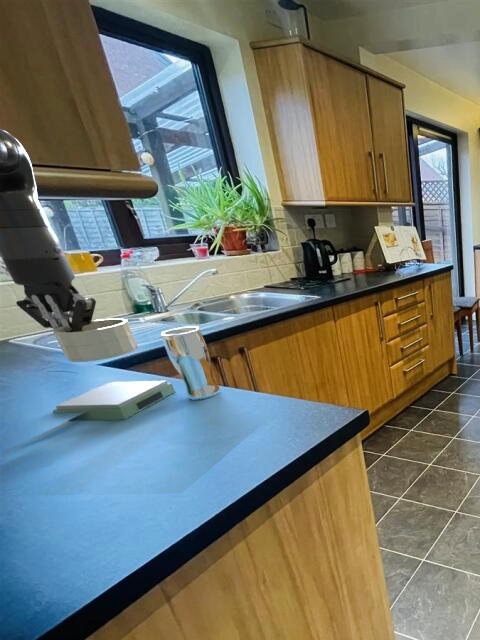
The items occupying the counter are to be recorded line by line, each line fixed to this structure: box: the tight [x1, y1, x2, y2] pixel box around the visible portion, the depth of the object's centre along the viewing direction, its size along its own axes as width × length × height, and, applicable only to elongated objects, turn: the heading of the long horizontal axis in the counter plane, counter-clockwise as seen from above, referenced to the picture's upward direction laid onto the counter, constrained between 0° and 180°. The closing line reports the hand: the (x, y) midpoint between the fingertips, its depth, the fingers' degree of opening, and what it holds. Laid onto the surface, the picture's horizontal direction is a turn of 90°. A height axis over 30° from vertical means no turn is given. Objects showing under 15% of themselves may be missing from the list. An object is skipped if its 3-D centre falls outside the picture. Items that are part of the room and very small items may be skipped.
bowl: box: [53, 318, 139, 363], centre depth 76 cm, size 10×10×6 cm
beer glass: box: [160, 326, 221, 401], centre depth 88 cm, size 7×7×15 cm
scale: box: [52, 380, 176, 422], centre depth 86 cm, size 14×13×3 cm
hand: (78, 348), depth 77 cm, fingers closed on bowl, 1 cm apart
